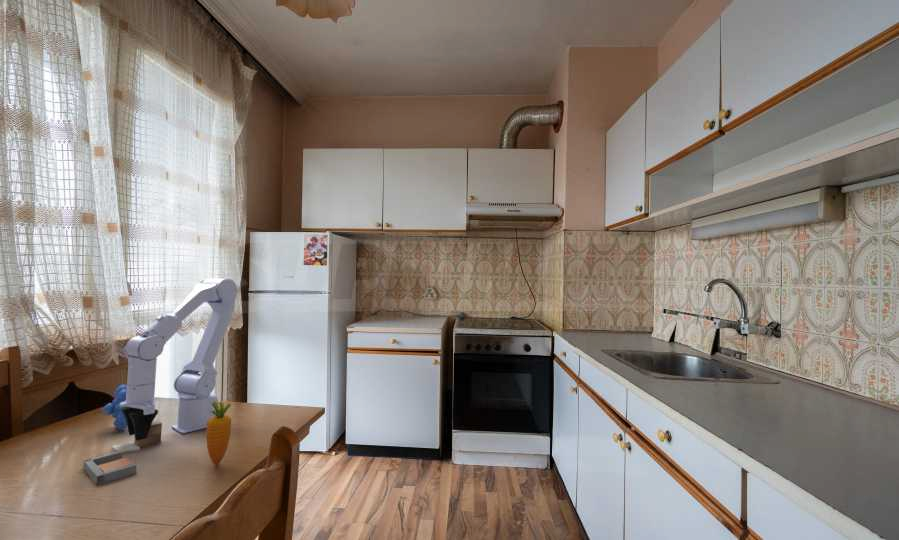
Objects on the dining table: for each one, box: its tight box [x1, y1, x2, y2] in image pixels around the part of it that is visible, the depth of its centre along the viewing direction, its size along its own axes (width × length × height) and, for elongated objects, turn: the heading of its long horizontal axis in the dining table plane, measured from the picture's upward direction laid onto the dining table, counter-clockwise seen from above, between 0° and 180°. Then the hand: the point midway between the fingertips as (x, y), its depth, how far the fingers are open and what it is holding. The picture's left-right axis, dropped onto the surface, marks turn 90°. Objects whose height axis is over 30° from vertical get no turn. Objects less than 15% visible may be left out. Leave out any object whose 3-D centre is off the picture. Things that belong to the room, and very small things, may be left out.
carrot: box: [205, 401, 232, 467], centre depth 90 cm, size 5×5×15 cm
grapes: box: [101, 384, 128, 431], centre depth 109 cm, size 12×7×12 cm, turn 46°
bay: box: [82, 451, 138, 486], centre depth 86 cm, size 7×11×2 cm, turn 54°
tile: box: [98, 457, 134, 473], centre depth 87 cm, size 5×5×2 cm
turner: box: [111, 420, 163, 455], centre depth 99 cm, size 9×6×5 cm, turn 144°
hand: (137, 436), depth 99 cm, fingers open, 4 cm apart
